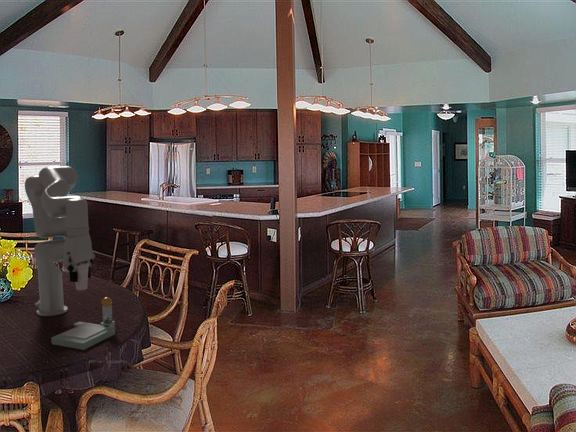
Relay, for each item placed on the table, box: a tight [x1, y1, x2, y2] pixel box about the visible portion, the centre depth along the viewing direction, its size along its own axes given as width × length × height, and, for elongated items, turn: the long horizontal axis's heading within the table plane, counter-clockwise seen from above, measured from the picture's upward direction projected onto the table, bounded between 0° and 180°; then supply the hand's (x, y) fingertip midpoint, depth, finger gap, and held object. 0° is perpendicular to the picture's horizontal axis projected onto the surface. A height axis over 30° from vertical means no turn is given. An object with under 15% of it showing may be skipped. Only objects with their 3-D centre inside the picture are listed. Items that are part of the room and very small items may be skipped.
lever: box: [100, 296, 116, 328], centre depth 211 cm, size 4×4×12 cm
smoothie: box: [72, 262, 89, 291], centre depth 199 cm, size 6×6×14 cm
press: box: [51, 321, 116, 351], centre depth 206 cm, size 22×21×3 cm
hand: (80, 279), depth 200 cm, fingers closed on smoothie, 5 cm apart
